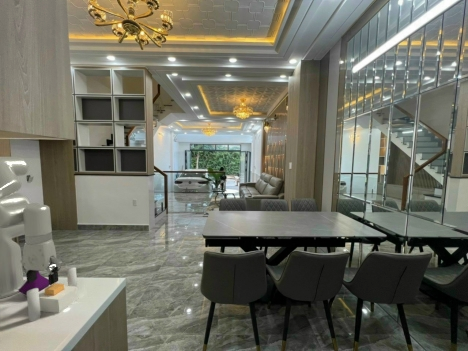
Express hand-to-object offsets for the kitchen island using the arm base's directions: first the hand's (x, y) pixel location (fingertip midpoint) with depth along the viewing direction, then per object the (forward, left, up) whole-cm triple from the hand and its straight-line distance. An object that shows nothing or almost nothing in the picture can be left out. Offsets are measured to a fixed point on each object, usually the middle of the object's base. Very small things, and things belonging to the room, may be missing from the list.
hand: (42, 282), depth 83 cm
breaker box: (+5, 0, -8) cm, 10 cm away
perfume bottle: (-10, +5, -9) cm, 14 cm away
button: (+5, 0, -5) cm, 7 cm away
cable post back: (+5, +8, -8) cm, 12 cm away
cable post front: (+5, -7, -8) cm, 12 cm away
